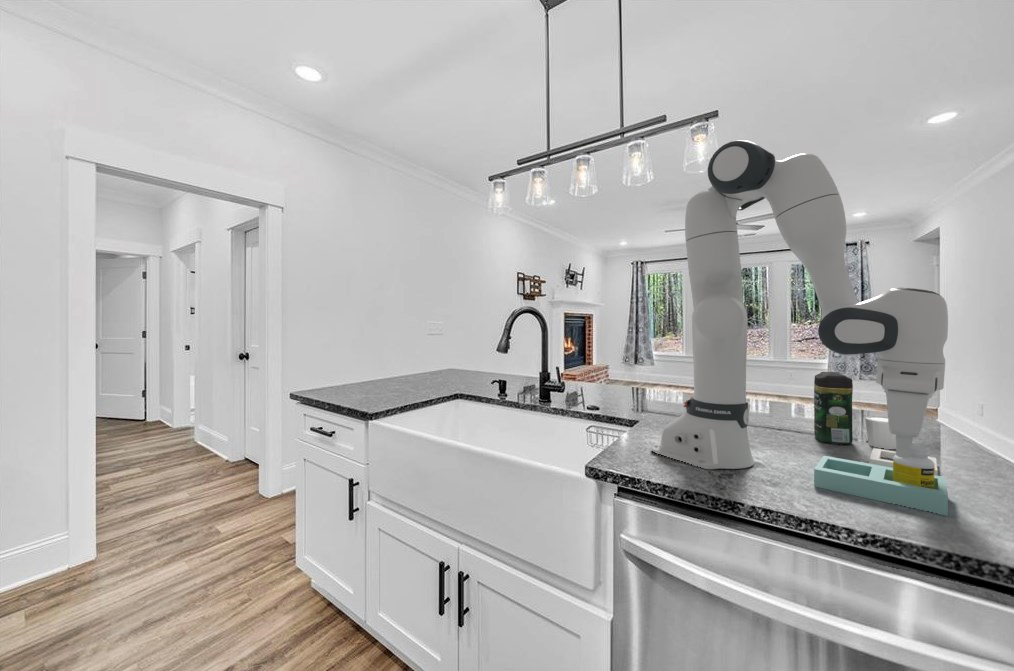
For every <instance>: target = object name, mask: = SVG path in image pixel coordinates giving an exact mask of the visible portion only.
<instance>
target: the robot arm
mask: <svg viewBox="0 0 1014 671" xmlns="http://www.w3.org/2000/svg"><path fill="white" fill-rule="evenodd" d="M707 166H708V167H707V177H708V180H709V182H710V184H711V187H709V188H708V189H706V190H703V191H700V192H698V193H696V194H695V195H694V196H692V197H691V198H690V199H689V200H688V201H687V205H686V210H685V217H684V218H685V219H684V220H685V221H684V233H685V234H684V236H685V237H684V238H685V248H686V257H687V259H686V260H687V266H688V267H687V268H688V275H689V277H688V278H689V282H690V290H691V298H692V306H693V313H692V316H691V325H692V326H691V327H692V329H691V330H692V355H693V357H692V358H693V396H692V397H690V398H689V399H688V400H686V401H685V402H683V404H684V405H683V407H684V408H685V412H684V413H683V414H682V415H680V416H678V417H676V418H674V420H672V421H671V422H669V423H667V424H666V425H665V426H664V427H663V430H662V432H661V438H660V440H659V441H657V442H655V443H654V444H652V446H651V452H652V451H654V452H657V453H659V454H662V455H664V456H667V457H666V458H668V457H670V458H669V459H671V458H673V459H672V460H674V459H677V460H680V461H679V462H681V461H683V462H682V463H684V462H686V463H685V464H687V463H689V464H688V465H691V464H692V466H694V467H697V466H698V467H697V468H700V467H701V469H705V470H717V469H718V470H719V469H728V470H730V469H731V470H733V469H734V470H735V469H737V470H738V469H739V470H740V469H746V468H750V467H753V466H754V465H755V461H754V458H753V455H752V450H751V447H750V440H749V434H748V433H749V432H748V426H749V423H750V413H749V412H750V409H749V402H748V401H747V357H748V356H747V355H748V354H747V353H748V352H747V350H748V312H747V310H746V307H745V306H744V294H743V293H744V292H743V282H742V281H743V280H742V279H743V278H742V265H741V264H742V263H741V254H740V245H739V234H738V225H737V215H738V214H737V213H738V211H743V210H746V209H748V208H750V207H751V206H753V205H755V204H757V203H759V202H761V201H763V200H765V199H766V200H767V202H768V204H769V205H770V207H771V211H772V213H773V214H772V215H773V217H774V219H775V223H776V226H777V228H778V230H779V232H780V235H781V236H782V239H783V240H784V242H785V243H786V245H787V247H788V248H789V249H790V251H791V252H792V253H793V254H794V255H795V256H796V258H797V259H798V260H799V262H801V264H802V265H803V267H804V268H805V270H806V272H807V273H808V275H809V277H810V280H811V283H812V285H813V289H814V291H815V294H816V297H817V300H818V303H819V306H820V313H821V315H820V321H819V325H818V329H817V330H818V334H817V335H818V337H819V339H820V342H821V343H822V345H824V346H825V348H827V349H828V350H829V351H832V352H833V353H835V354H838V355H842V356H850V357H851V356H859V355H864V354H873V353H874V354H876V355H877V361H876V363H877V365H876V379H875V383H876V384H878V385H881V387H882V390H883V389H884V393H885V397H886V407H887V409H886V411H887V418H888V423H889V430H890V432H891V433H892V434H895V435H896V450H895V451H896V455H897V456H898V457H902V458H910V452H911V445H912V443H913V440H914V438H916V439H917V438H919V437H920V434H921V432H922V430H923V429H922V428H923V424H924V420H925V417H926V412H927V408H928V405H929V400H930V399H932V398H933V395H934V394H935V392H938V391H941V390H944V384H945V372H946V358H945V354H944V347H945V345H946V342H947V340H948V332H949V311H948V305H947V301H946V300H945V298H944V297H943V296H942V295H941V294H940V293H937V292H936V291H932V290H927V289H922V288H921V289H920V288H914V287H913V288H912V287H893V288H889V289H888V290H886V291H884V292H882V293H881V294H878V295H876V296H874V297H871V298H869V299H866V300H863V301H862V300H861V301H859V299H858V296H856V292H855V289H854V286H853V283H852V280H851V277H850V275H849V272H848V269H847V265H846V260H845V248H846V247H845V246H846V240H847V238H846V236H847V220H846V212H845V208H844V204H843V200H842V197H841V195H840V192H839V190H838V188H837V187H838V186H836V183H835V181H834V179H833V177H832V175H831V174H830V171H829V170H828V168H827V166H826V165H825V164H824V162H823V161H822V160H821V159H820V157H819V156H817V155H815V154H813V153H799V154H795V155H792V156H790V157H787V158H785V159H783V160H782V159H781V160H776V156H775V155H774V153H771V152H770V151H768V150H766V149H764V147H762V146H760V145H759V144H757V143H755V142H752V141H749V140H743V139H742V140H733V141H729V142H727V143H724V144H723V145H722V146H720V147H719V148H717V150H716V151H715V152H714V153H713V154H712V156H711V158H710V160H709V163H708V165H707ZM664 456H663V457H664ZM677 460H676V461H677Z"/></svg>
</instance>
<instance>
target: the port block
mask: <svg viewBox="0 0 1014 671" xmlns="http://www.w3.org/2000/svg"><path fill="white" fill-rule="evenodd" d="M946 479H947V478H946V477H945V476H942V475H938V474H937V475H934V489H931V488H925V487H920V486H915V485H910V484H905V483H899V482H894V481H893V468H891V467H886V466H880V465H874V464H869V462H864V461H863V462H862V461H858V460H857V461H856V460H851V459H846V458H845V459H844V458H840V457H839V458H838V457H834V456H827V455H823V456H821V458H820V460H819V461H818V463H817V464H816V466H815V467H814V470H813V482H814V483H813V487H814V486H815V488H820V489H823V490H824V489H825V490H828V491H833V492H837V493H842V494H846V495H850V496H855V497H859V498H865V499H870V500H874V501H878V502H884V503H888V504H891V503H892V505H895V504H898V505H897V506H900V505H902V506H901V507H904V506H906V507H905V508H909V507H911V508H910V509H913V508H916V509H915V510H918V509H920V510H919V511H922V510H924V511H923V512H927V511H929V512H928V513H931V512H933V514H936V513H937V514H936V515H941V516H944V517H945V516H946V517H948V515H949V514H948V512H949V508H948V507H949V505H948V503H949V493H948V486H947V481H946Z"/></svg>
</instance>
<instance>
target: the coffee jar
mask: <svg viewBox="0 0 1014 671" xmlns="http://www.w3.org/2000/svg"><path fill="white" fill-rule="evenodd" d="M853 384H854V383H853V379H852V378H851V377H849V376H847V375H845V374H842V373H840V372H838V371H836V372H835V371H821V372H820V373H817V374H815V375H814V382H813V409H814V410H813V417H814V418H813V419H814V422H813V430H814V432H813V433H814V436H815V438H816V439H817V440H818V441H820V442H823V443H829V444H832V445H838V444H840V446H841V445H851V444H852V443H853V438H854V436H853V391H854V389H853V388H854V385H853Z"/></svg>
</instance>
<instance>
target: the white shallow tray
mask: <svg viewBox="0 0 1014 671" xmlns="http://www.w3.org/2000/svg"><path fill="white" fill-rule="evenodd" d="M872 448H873V449H872V451H871V454H870V456H869V462H868V463H869V464H874V465H880V466H886V467H891V468H893V458H894V456H895V455H896V450H895V451H894V450H889V449H881V448H876V447H872ZM883 458H884V459H883ZM928 459H930V460H932V461H933V462H934V464H935V473H934V475H937V476H938V465H937V464H938V463H937V457H933V456H928Z"/></svg>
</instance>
